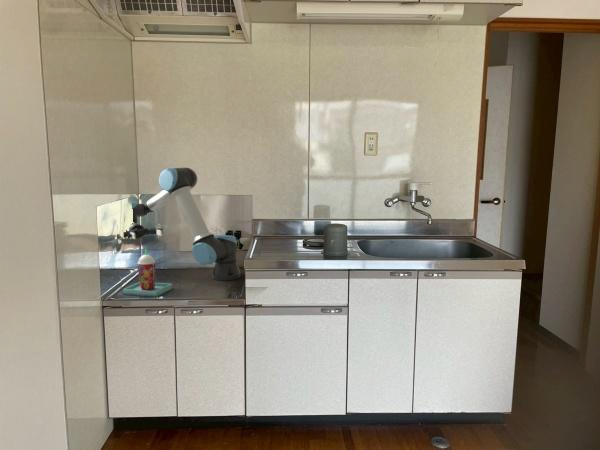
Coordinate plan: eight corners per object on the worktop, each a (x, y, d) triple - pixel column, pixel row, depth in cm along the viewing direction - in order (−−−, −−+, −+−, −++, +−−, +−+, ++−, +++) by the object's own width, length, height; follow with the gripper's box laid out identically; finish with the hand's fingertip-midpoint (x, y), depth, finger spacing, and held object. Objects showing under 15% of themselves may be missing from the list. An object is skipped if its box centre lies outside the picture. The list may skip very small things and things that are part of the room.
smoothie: (159, 287, 225) (157, 247, 222) (151, 292, 217) (149, 251, 214) (144, 286, 226) (142, 247, 224) (135, 291, 218) (133, 250, 215)
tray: (172, 288, 226) (171, 283, 226) (156, 296, 213) (156, 291, 212) (140, 286, 231) (140, 281, 231) (123, 294, 217) (122, 289, 217)
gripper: (159, 234, 257) (172, 239, 240) (112, 240, 243) (123, 245, 225) (158, 221, 256) (171, 224, 239) (111, 226, 242) (122, 230, 224)
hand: (148, 234), depth 232 cm, fingers open, 13 cm apart
